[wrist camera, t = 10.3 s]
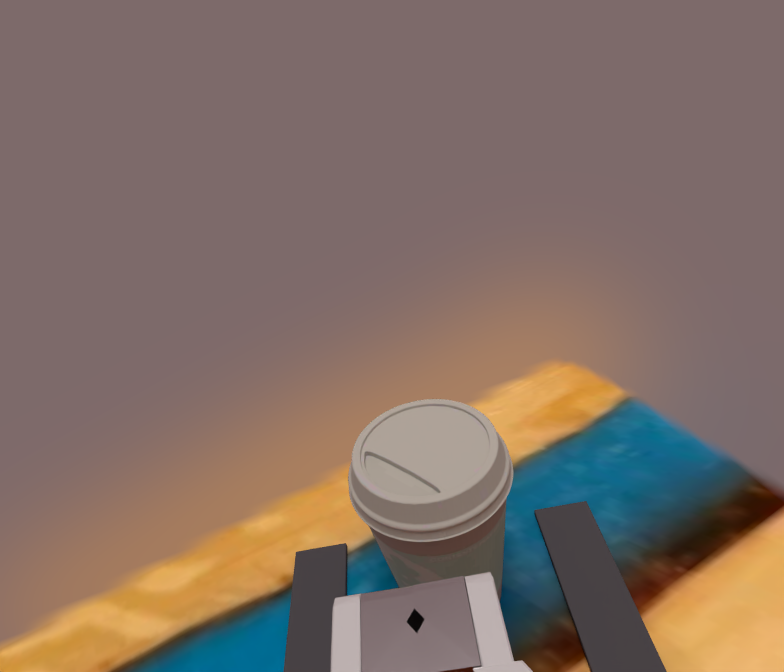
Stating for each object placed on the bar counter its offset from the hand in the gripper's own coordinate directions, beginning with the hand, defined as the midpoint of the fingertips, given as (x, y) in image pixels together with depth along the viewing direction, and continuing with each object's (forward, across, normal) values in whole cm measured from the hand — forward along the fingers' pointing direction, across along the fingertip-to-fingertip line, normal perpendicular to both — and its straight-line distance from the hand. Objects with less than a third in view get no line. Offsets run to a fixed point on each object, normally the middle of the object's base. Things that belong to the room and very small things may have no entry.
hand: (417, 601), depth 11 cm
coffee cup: (+14, 0, +22) cm, 26 cm away
